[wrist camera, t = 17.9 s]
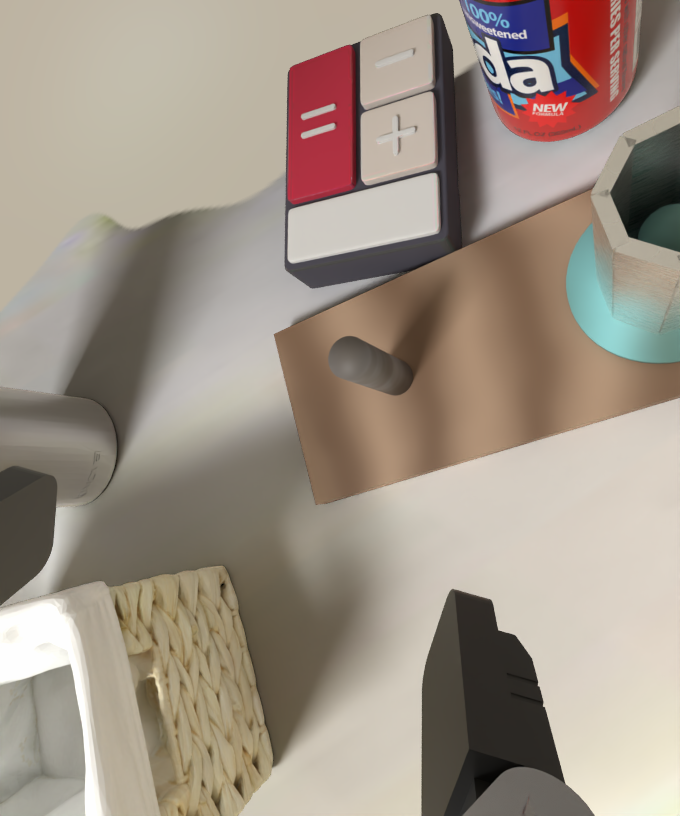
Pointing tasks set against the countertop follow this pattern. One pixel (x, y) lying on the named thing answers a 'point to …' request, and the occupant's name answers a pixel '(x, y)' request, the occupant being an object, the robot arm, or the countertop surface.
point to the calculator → (372, 157)
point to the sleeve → (639, 226)
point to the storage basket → (130, 701)
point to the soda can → (555, 61)
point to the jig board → (473, 356)
